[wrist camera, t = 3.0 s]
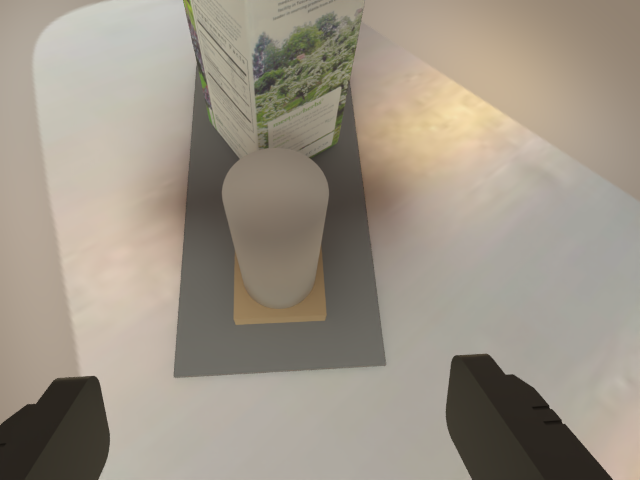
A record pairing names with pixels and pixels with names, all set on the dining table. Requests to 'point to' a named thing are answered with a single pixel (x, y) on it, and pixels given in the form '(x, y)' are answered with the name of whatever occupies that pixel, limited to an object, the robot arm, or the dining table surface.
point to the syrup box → (275, 69)
